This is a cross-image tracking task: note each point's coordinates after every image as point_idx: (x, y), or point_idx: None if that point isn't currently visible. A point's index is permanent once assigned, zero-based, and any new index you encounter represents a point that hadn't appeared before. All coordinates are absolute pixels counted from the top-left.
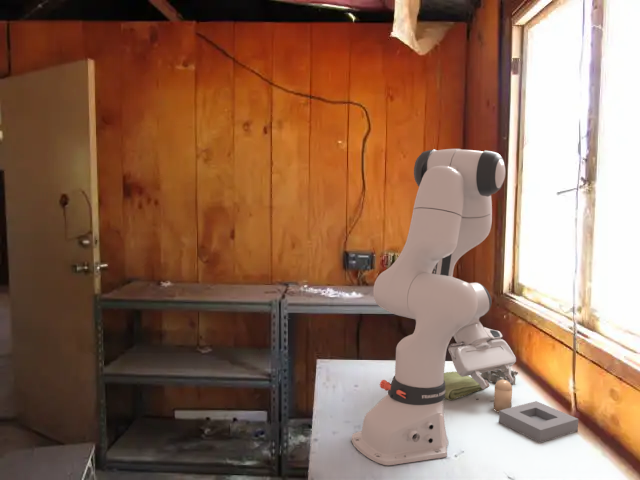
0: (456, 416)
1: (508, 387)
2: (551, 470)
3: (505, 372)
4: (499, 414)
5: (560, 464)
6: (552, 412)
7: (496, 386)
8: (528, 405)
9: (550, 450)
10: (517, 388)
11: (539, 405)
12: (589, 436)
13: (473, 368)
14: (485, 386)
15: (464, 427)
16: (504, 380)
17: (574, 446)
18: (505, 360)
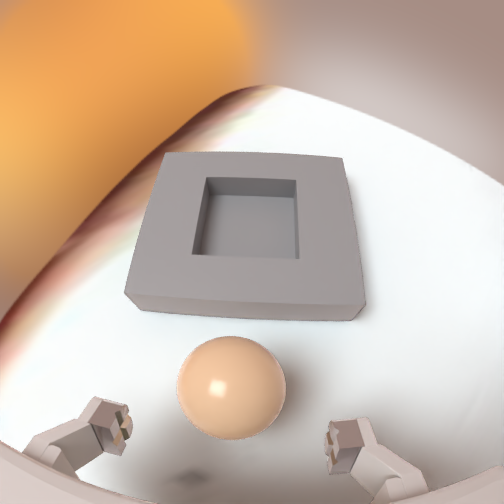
0: (449, 413)
1: (244, 338)
2: (394, 132)
3: (73, 463)
4: (360, 309)
5: (364, 131)
6: (182, 203)
7: (282, 404)
8: (197, 281)
9: None
10: None
11: (157, 260)
12: None
13: (466, 487)
14: (365, 419)
15: (470, 335)
16: (229, 376)
17: (268, 144)
18: (19, 473)
